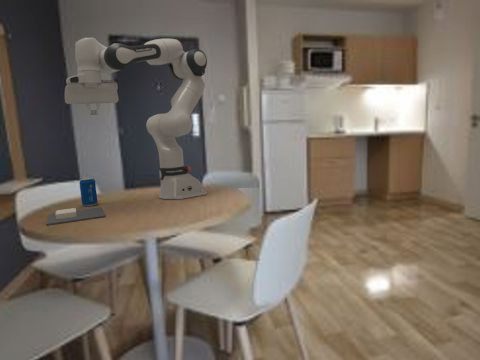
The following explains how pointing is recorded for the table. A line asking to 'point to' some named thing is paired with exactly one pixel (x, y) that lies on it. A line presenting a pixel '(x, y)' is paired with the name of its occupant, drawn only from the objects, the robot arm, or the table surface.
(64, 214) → the tile
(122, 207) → the table surface
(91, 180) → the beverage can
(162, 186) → the robot arm
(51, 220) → the mat
